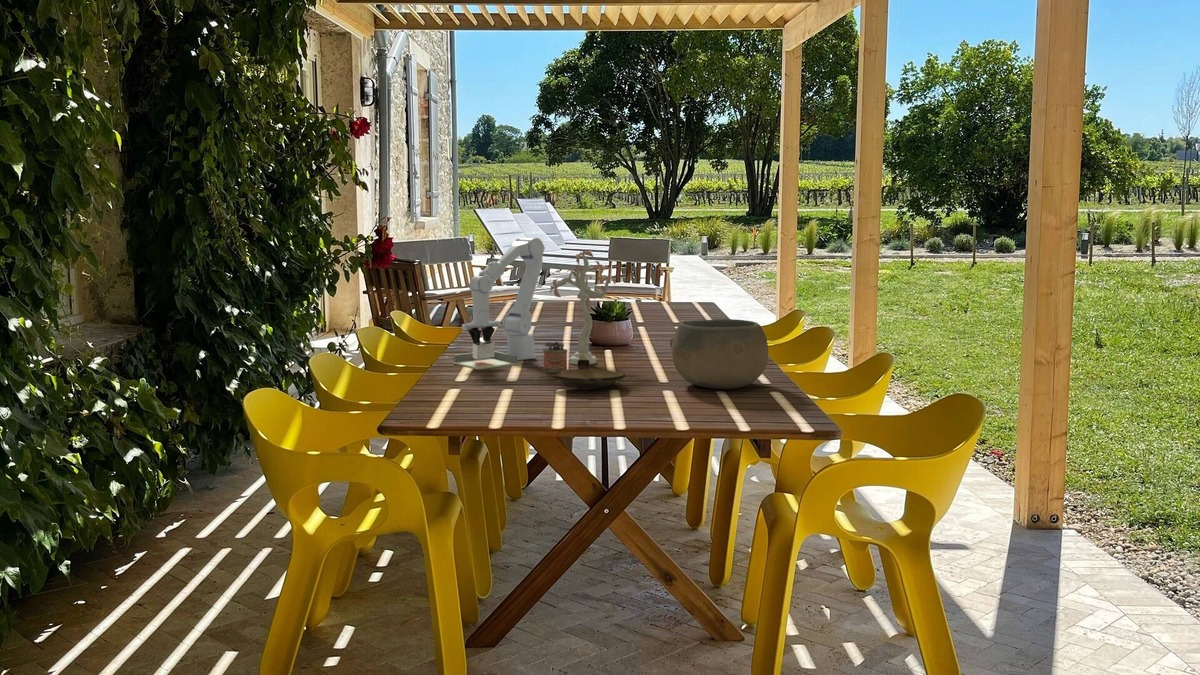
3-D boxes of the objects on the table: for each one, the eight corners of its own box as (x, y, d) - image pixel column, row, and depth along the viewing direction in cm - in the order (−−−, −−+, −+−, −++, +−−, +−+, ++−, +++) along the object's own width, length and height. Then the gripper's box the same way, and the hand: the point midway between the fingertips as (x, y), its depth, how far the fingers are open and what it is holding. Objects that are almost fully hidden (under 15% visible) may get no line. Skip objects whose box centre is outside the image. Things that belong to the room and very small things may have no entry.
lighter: (568, 370, 335) (567, 341, 334) (566, 372, 332) (566, 342, 330) (544, 370, 336) (544, 341, 335) (542, 372, 333) (542, 342, 331)
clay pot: (655, 381, 315) (656, 319, 312) (739, 375, 325) (740, 314, 323) (697, 399, 288) (698, 331, 285) (787, 392, 298) (788, 325, 295)
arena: (492, 358, 360) (492, 350, 360) (517, 364, 348) (516, 355, 348) (453, 363, 351) (453, 354, 350) (477, 369, 338) (477, 360, 338)
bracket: (494, 356, 345) (494, 342, 344) (477, 359, 341) (477, 345, 340) (480, 351, 352) (480, 337, 351) (463, 354, 348) (463, 340, 346)
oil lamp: (542, 394, 296) (541, 369, 295) (568, 376, 325) (568, 353, 324) (615, 397, 291) (615, 372, 290) (635, 379, 320) (636, 355, 319)
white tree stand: (556, 355, 367) (554, 246, 362) (619, 356, 365) (619, 246, 360) (545, 368, 340) (543, 251, 334) (613, 369, 338) (613, 251, 332)
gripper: (492, 307, 354) (493, 345, 356) (457, 310, 345) (457, 349, 347) (503, 309, 349) (503, 347, 350) (467, 312, 340) (468, 351, 341)
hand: (481, 348), depth 348 cm, fingers closed on bracket, 3 cm apart
